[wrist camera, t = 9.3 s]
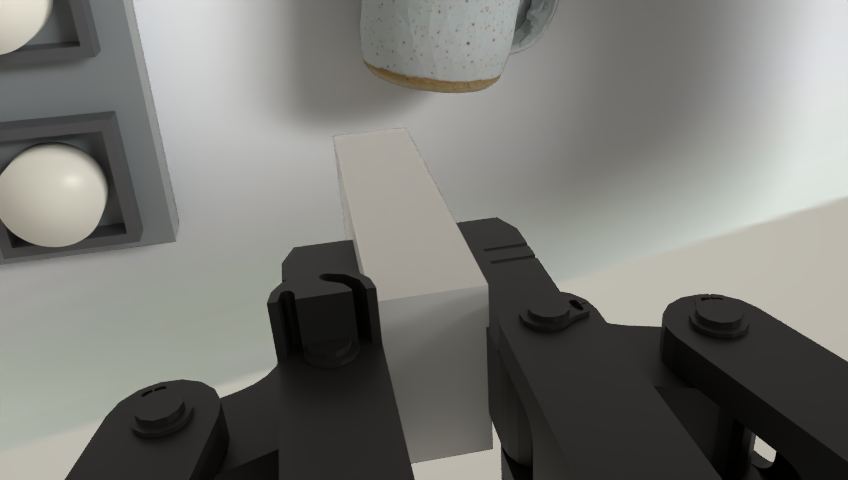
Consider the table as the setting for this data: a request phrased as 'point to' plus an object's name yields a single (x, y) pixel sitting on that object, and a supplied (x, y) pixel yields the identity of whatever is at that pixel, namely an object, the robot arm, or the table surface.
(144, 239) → the button board
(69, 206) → the button
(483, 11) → the ceramic mug
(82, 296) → the table surface
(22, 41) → the middle button
